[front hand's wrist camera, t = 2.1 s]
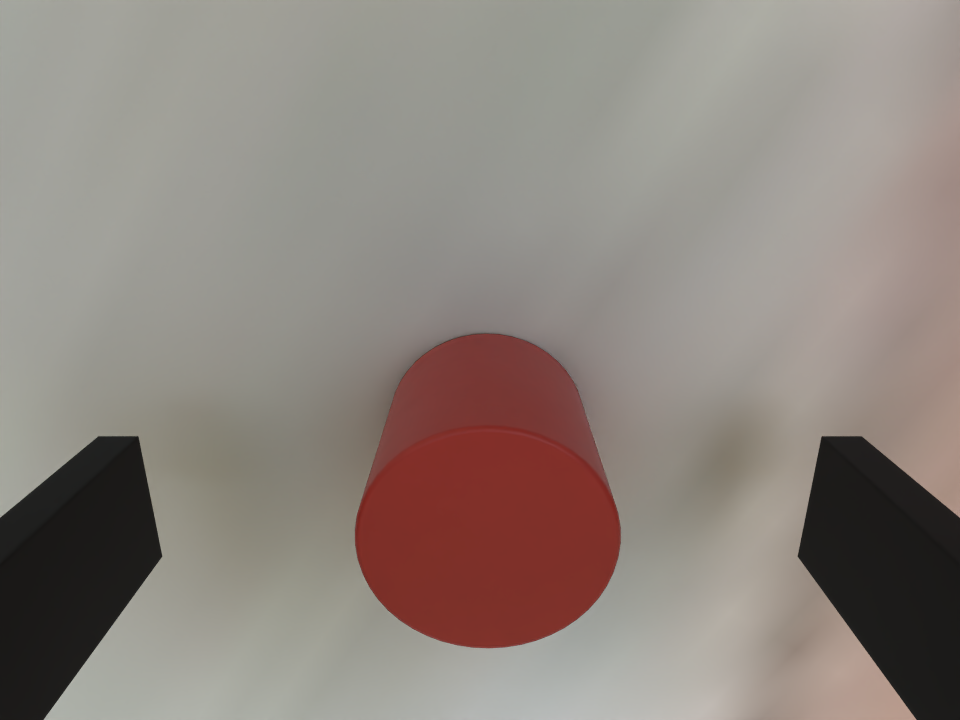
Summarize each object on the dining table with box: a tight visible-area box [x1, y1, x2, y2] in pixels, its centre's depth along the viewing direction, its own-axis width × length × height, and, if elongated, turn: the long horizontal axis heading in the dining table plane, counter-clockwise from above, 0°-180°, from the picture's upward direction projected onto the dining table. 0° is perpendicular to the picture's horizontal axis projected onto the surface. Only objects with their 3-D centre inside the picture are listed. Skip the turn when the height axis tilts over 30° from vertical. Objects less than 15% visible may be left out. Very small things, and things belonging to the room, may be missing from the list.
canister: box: [355, 334, 621, 648], centre depth 13 cm, size 4×4×4 cm
